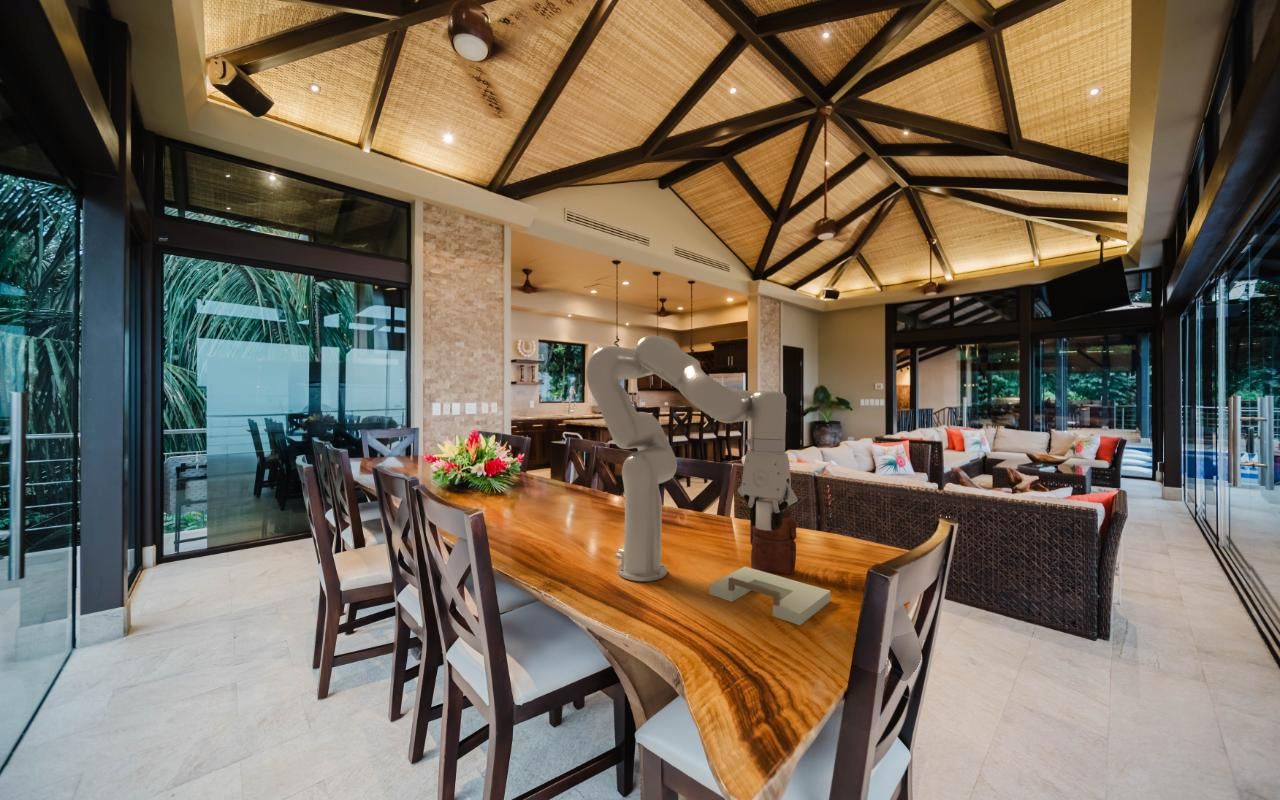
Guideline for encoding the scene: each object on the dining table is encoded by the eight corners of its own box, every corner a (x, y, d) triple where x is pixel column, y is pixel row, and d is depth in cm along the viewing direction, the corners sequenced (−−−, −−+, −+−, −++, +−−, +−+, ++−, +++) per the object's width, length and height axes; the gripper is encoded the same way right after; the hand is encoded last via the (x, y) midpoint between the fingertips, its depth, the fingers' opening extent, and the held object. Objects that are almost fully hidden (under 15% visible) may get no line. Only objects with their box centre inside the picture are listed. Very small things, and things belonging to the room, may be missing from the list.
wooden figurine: (794, 568, 134) (796, 501, 134) (795, 576, 128) (797, 506, 127) (749, 563, 137) (751, 498, 137) (748, 571, 131) (750, 503, 131)
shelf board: (709, 594, 116) (709, 572, 116) (744, 575, 128) (745, 556, 128) (799, 625, 101) (800, 601, 101) (830, 601, 113) (830, 579, 113)
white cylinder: (751, 527, 112) (752, 501, 112) (761, 523, 115) (762, 498, 115) (769, 531, 109) (770, 504, 109) (779, 527, 112) (779, 501, 112)
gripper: (726, 444, 115) (724, 522, 115) (796, 451, 103) (793, 538, 104) (743, 441, 120) (741, 517, 121) (811, 448, 109) (808, 531, 109)
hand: (765, 526), depth 112 cm, fingers closed on white cylinder, 4 cm apart
